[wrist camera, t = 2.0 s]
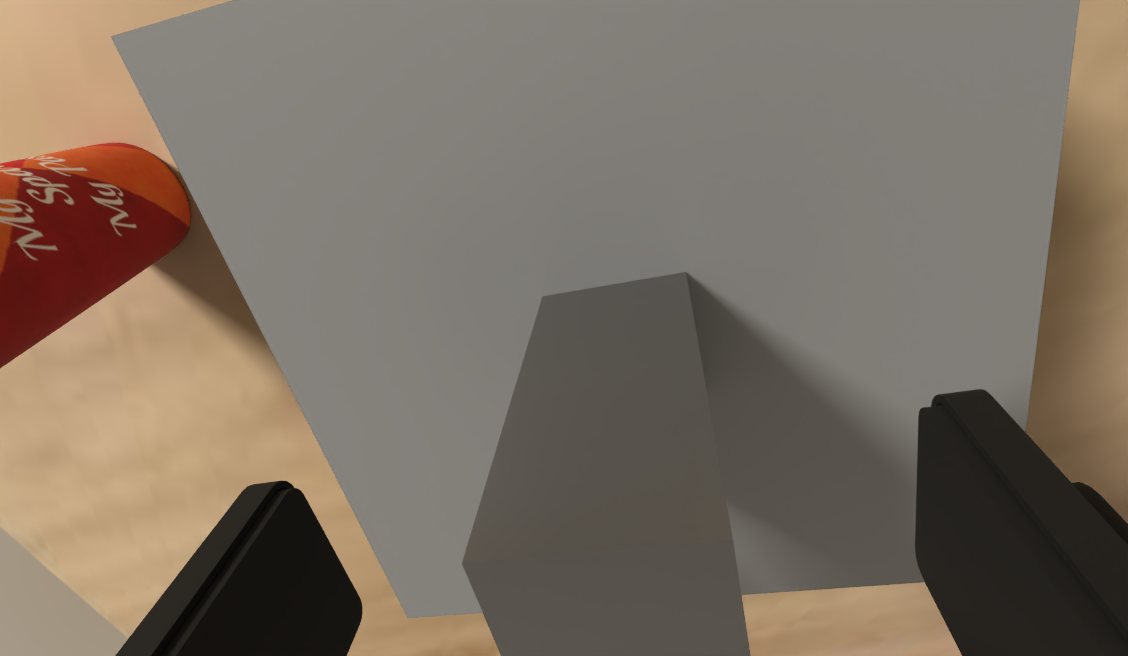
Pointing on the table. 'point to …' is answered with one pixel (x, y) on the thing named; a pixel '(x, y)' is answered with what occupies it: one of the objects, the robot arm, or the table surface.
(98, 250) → the coffee cup
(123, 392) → the table surface
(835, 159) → the grey knobbed cube
